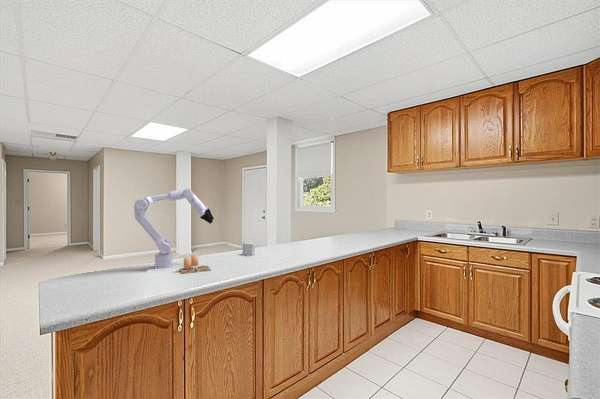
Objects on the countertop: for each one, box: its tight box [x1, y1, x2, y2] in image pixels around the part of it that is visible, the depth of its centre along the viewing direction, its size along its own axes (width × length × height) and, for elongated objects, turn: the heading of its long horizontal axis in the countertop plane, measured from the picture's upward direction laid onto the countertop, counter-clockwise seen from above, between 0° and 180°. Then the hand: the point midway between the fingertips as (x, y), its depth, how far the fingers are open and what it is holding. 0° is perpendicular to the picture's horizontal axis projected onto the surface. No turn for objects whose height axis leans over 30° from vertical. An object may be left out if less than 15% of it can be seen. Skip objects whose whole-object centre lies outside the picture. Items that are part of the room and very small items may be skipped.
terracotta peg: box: [190, 254, 199, 267], centre depth 172 cm, size 4×4×7 cm
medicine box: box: [241, 242, 256, 257], centre depth 206 cm, size 8×4×9 cm, turn 71°
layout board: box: [179, 264, 212, 275], centre depth 162 cm, size 16×12×2 cm
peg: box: [183, 257, 192, 271], centre depth 160 cm, size 4×4×7 cm
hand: (212, 221), depth 180 cm, fingers open, 7 cm apart
